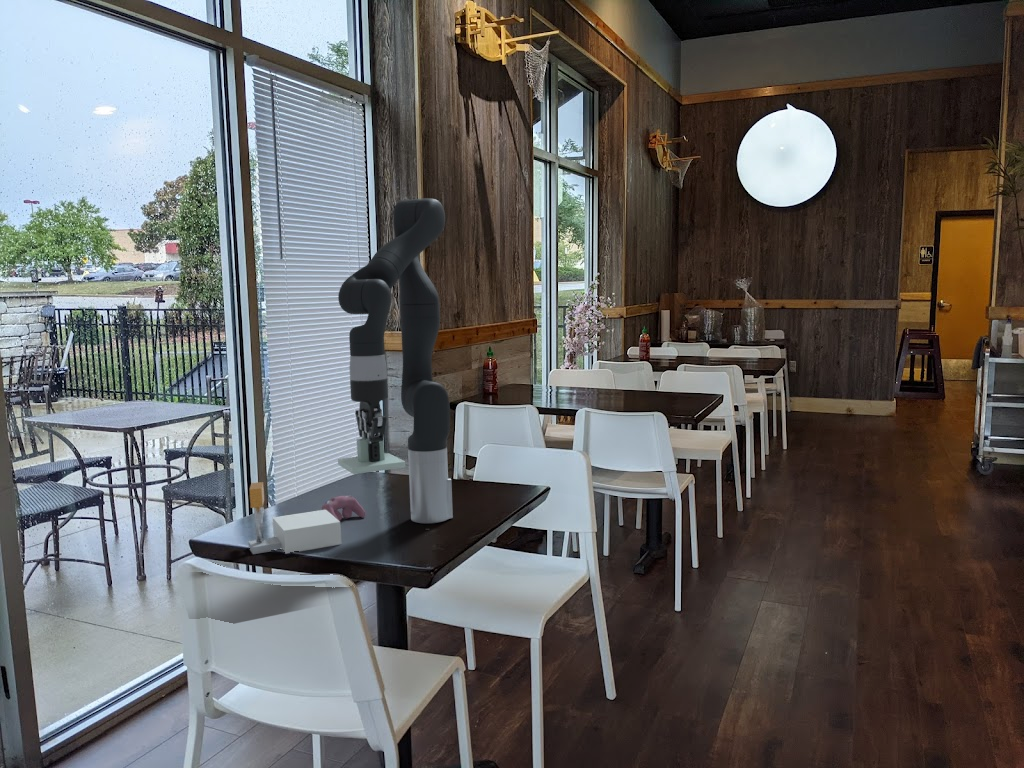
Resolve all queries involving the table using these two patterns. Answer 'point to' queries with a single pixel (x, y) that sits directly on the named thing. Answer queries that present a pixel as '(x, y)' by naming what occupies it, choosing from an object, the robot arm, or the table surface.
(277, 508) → the table surface
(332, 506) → the pink animal figurine
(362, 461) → the cover
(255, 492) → the t key
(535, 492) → the table surface
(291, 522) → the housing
